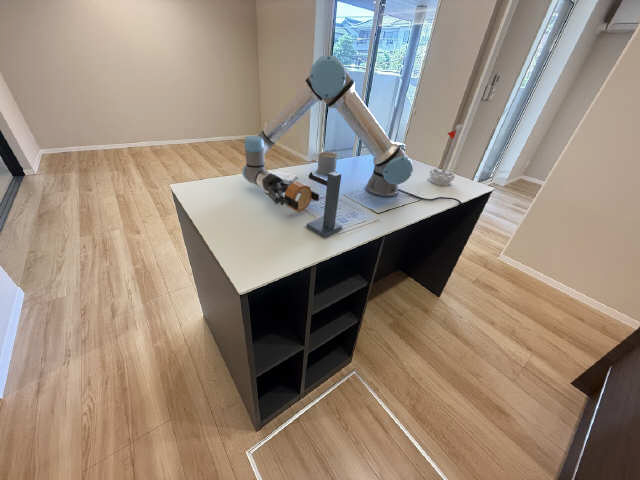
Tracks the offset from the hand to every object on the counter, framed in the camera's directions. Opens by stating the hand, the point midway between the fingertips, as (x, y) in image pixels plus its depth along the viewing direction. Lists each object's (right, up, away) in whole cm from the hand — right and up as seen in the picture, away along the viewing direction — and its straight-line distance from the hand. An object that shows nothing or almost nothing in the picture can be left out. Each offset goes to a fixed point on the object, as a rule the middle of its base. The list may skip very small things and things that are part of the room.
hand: (308, 201), depth 91 cm
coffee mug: (+9, +24, +49) cm, 56 cm away
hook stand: (+4, -9, +1) cm, 10 cm away
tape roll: (-4, +2, +3) cm, 5 cm away
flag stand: (+72, +19, +50) cm, 90 cm away
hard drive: (-15, +17, +36) cm, 43 cm away
